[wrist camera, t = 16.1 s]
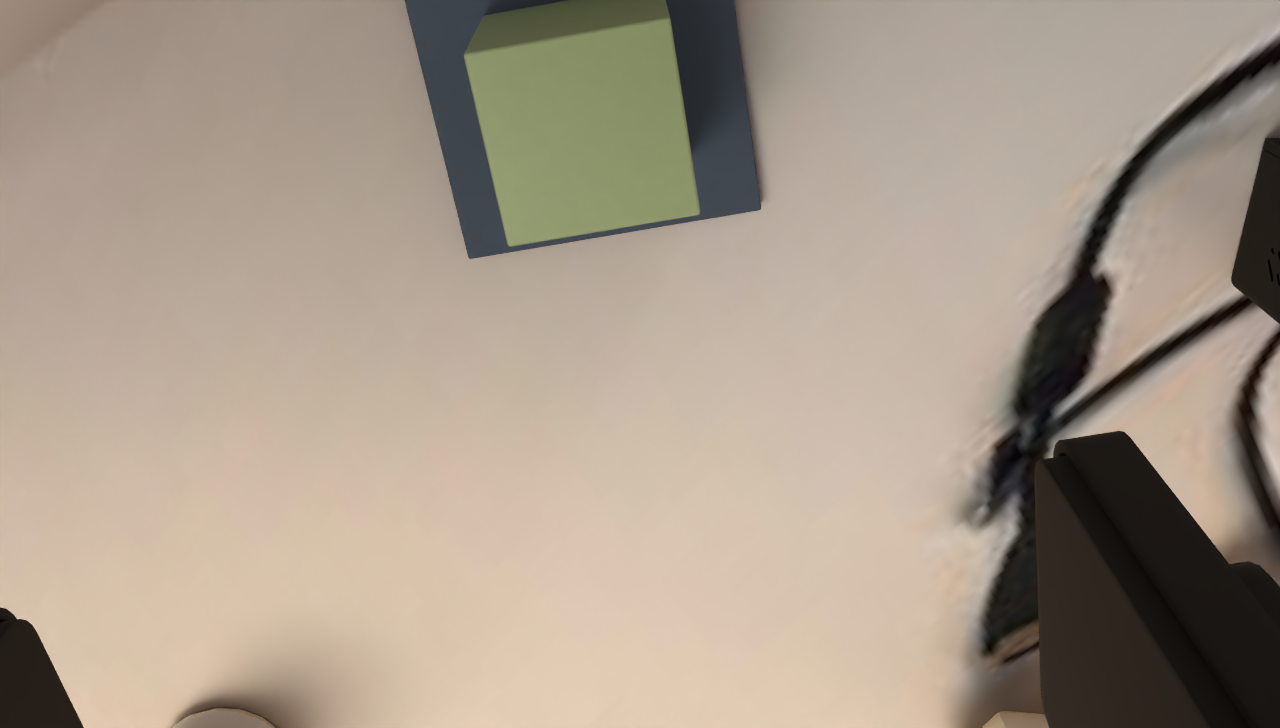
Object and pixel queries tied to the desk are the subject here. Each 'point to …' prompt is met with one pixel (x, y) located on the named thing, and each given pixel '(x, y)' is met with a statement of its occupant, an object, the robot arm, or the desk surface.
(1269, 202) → the digital camera
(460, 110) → the coaster
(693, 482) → the desk surface
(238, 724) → the rook chess piece
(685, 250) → the desk surface
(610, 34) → the top block
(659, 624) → the desk surface
